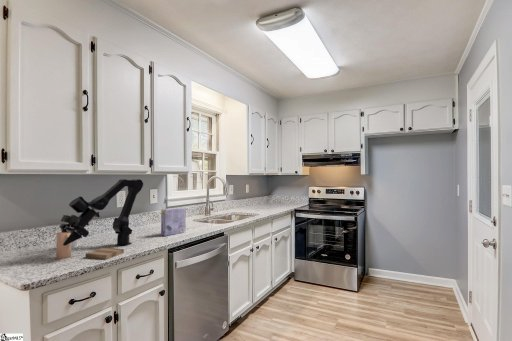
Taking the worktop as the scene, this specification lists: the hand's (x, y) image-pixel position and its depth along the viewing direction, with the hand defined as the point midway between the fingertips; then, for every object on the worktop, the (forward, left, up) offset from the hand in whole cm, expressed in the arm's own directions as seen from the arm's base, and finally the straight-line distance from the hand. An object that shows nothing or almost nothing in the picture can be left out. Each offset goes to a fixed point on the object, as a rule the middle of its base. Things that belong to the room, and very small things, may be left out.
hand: (60, 244), depth 139 cm
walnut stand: (-9, +17, -7) cm, 21 cm away
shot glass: (-19, -14, -7) cm, 25 cm away
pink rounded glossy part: (-1, 0, -7) cm, 7 cm away
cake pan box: (-67, +22, -7) cm, 71 cm away
